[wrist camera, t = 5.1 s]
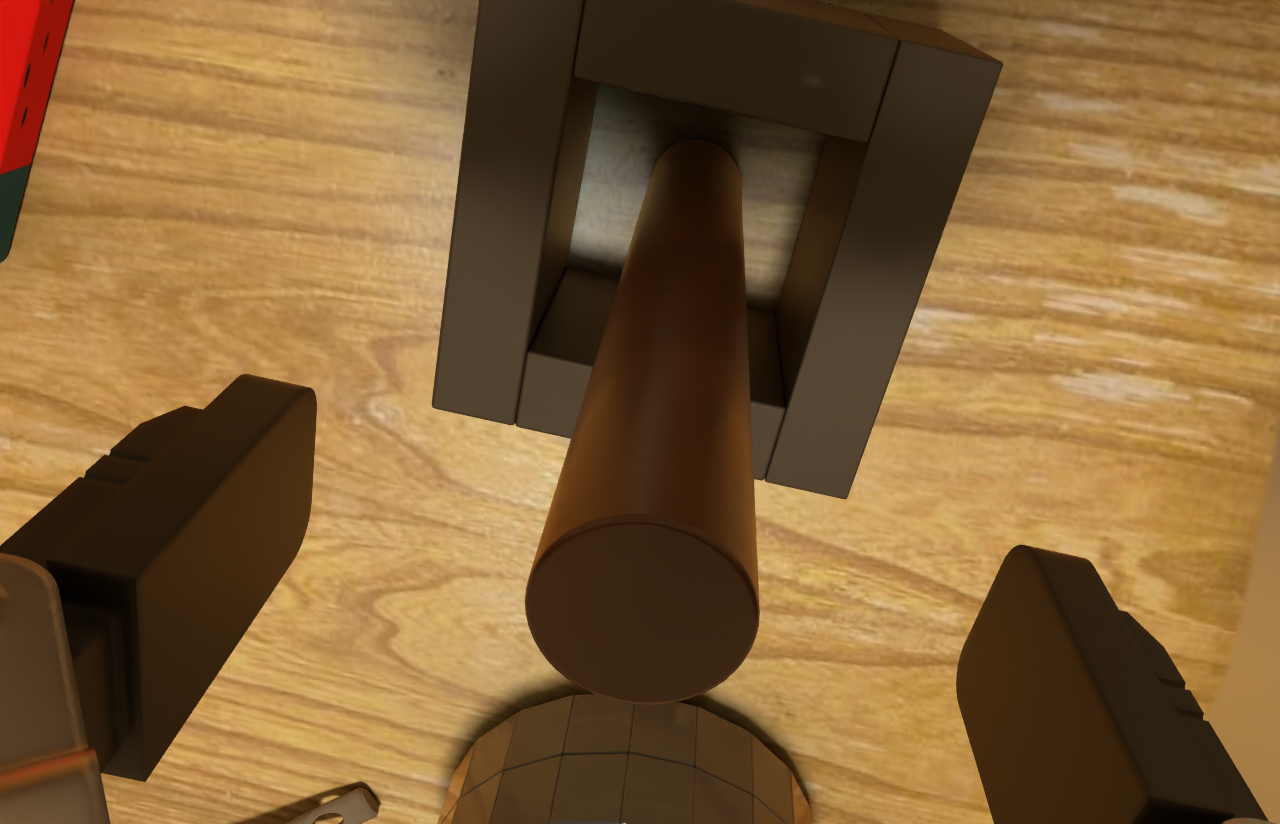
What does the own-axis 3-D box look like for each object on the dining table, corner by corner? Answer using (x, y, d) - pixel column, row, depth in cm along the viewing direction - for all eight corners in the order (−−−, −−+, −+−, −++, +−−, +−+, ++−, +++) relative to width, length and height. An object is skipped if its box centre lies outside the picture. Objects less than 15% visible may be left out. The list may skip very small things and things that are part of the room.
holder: (942, 30, 24) (1004, 63, 18) (824, 390, 28) (847, 500, 23) (540, -63, 23) (484, -57, 18) (486, 315, 28) (430, 409, 23)
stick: (751, 150, 25) (788, 548, 9) (728, 237, 26) (727, 728, 10) (661, 130, 25) (542, 494, 9) (642, 218, 26) (508, 681, 10)
